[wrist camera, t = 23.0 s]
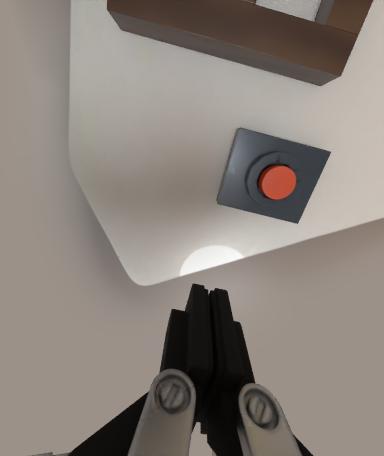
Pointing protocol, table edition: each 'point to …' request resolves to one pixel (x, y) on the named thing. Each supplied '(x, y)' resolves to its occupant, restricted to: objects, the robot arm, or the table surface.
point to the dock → (252, 32)
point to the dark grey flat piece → (260, 160)
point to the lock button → (277, 182)
